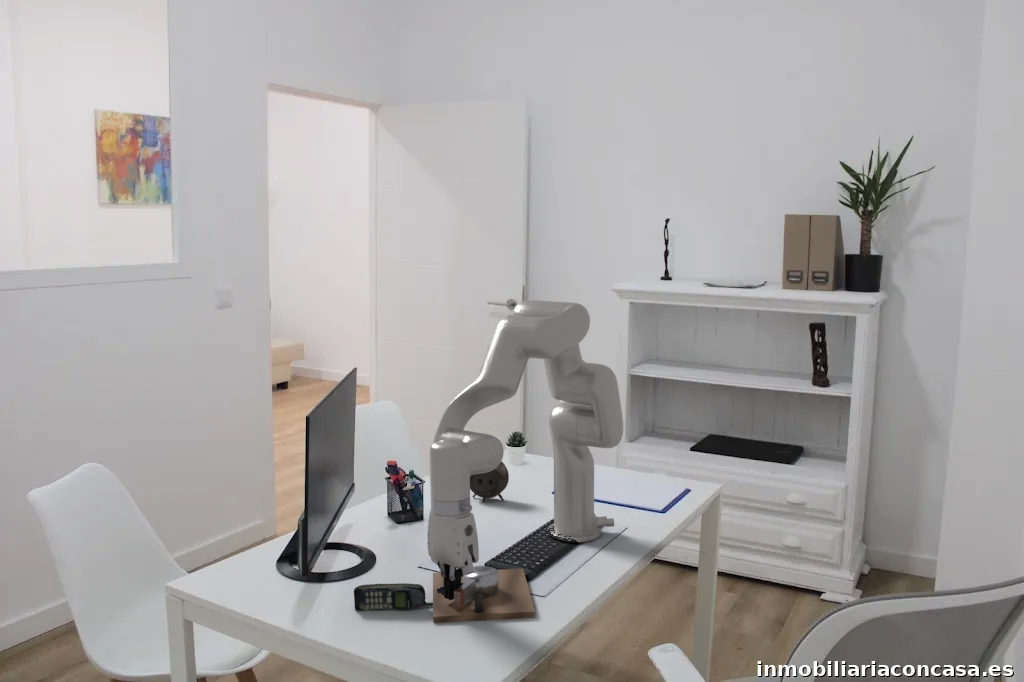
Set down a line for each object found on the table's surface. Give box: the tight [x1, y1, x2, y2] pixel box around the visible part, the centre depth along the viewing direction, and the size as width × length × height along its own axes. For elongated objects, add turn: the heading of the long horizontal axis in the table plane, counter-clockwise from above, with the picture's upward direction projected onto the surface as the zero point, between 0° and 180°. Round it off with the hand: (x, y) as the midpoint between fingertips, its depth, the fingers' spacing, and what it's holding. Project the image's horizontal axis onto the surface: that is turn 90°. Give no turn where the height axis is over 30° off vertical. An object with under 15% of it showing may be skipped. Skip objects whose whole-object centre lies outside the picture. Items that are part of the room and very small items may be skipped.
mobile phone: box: [353, 582, 433, 612], centre depth 171 cm, size 5×3×15 cm
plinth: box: [432, 568, 536, 624], centre depth 176 cm, size 19×21×4 cm
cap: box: [454, 565, 499, 610], centre depth 173 cm, size 14×7×4 cm, turn 156°
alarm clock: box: [470, 460, 510, 504], centre depth 236 cm, size 11×5×16 cm, turn 69°
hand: (452, 596), depth 171 cm, fingers closed
